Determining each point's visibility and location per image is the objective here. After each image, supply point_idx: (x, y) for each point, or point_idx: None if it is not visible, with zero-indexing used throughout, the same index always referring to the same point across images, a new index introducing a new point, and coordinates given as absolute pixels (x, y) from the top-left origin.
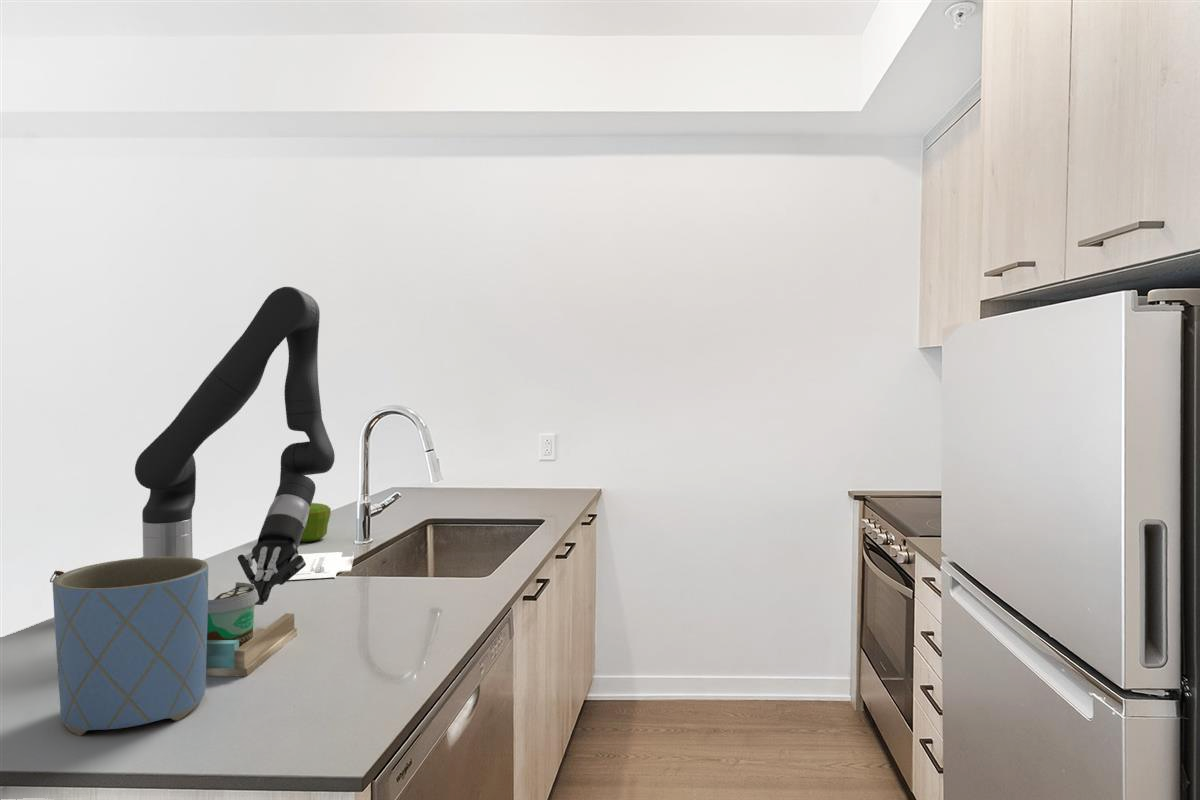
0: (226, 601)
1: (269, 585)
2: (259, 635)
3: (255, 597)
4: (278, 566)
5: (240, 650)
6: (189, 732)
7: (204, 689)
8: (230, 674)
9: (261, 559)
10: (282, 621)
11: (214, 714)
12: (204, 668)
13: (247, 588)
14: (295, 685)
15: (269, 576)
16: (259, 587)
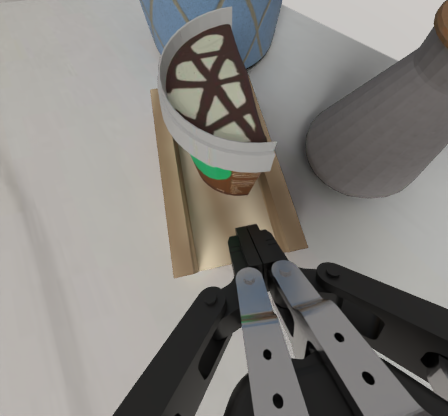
0: (186, 33)
1: (234, 271)
2: (166, 144)
3: (160, 103)
4: (244, 376)
5: (157, 90)
6: (138, 24)
7: (156, 45)
8: None
9: (363, 366)
10: (169, 220)
11: (137, 48)
12: (144, 12)
13: (218, 136)
14: (89, 109)
15: (243, 286)
16: (257, 249)
